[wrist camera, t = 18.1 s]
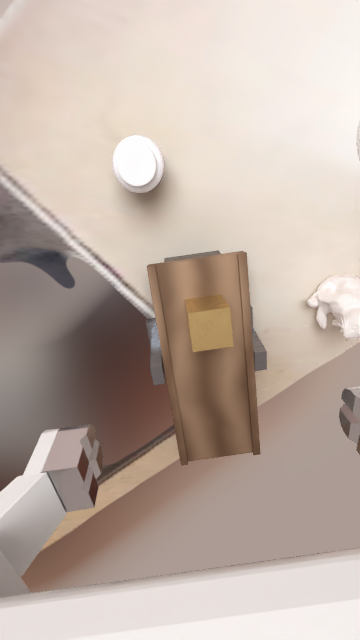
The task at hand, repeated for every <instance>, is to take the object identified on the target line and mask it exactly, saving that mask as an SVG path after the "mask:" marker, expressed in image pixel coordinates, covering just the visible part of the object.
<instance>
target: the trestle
mask: <svg viewBox="0 0 360 640" xmlns="http://www.w3.org/2000/svg"><path fill="white" fill-rule="evenodd" d="M219 254H220V252H219V251H212V252H205V253H198V254H192V255H185V256H178V257H171V258H165V262H171V261H178V260H185V259H191V258H198V257H205V256H212V255H219ZM250 311H251V325H252V340H253V355H254V369H255V371H257V370H264V369H267V368H266V350H265V348H264V346H263V344H262V343H261V341H260V339H259V338H258V336H257V334H256V332H255V331H254V329H253V318H252V307H251V305H250ZM146 326H147V331H148V336H149V341H150V345H151V360H150V370H151V375H152V379H153V383H154V385H159V384H164V383H165V369H164V363H163V357H162V352H161V346H160V340H159V334H158V328H157V323H156V318H154V319H147V320H146Z"/></svg>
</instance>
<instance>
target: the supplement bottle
mask: <svg viewBox="0 0 360 640" xmlns="http://www.w3.org/2000/svg"><path fill="white" fill-rule="evenodd" d="M112 167H113V172H114V175H115V177H116V179H117V180H118V182H119V183H120V184H121V185H122V186H123V187H124V188H125V189H127V190H129V191H131V192H135V193H145V192H148V191H150V190H152V189H153V188H155V187H156V186H157V185H158V183H159V182H160V180H161V178H162V176H163V172H164V160H163V156H162V153H161V151H160V149H159V148H158V146H157V145H156V144H155V143H154V142H153V141H152V140H150V139H149V138H147V137H144V136H140V135H133V136H129V137H126V138H125V139H123V140H122V141H121V142H120V143H119V144H118V145H117V147H116V148H115V150H114V153H113V157H112Z"/></svg>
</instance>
